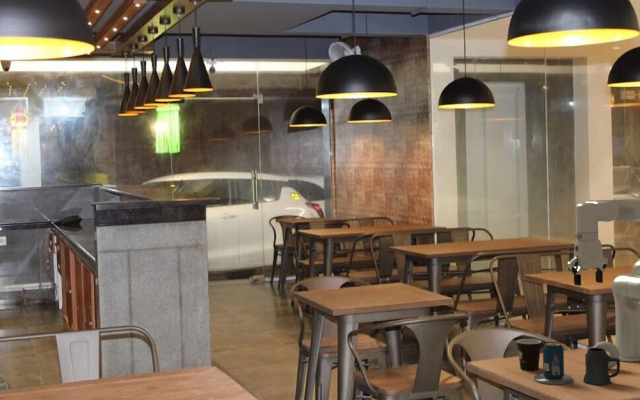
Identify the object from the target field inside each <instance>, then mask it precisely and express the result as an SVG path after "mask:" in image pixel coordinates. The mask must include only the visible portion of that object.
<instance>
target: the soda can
mask: <svg viewBox="0 0 640 400" xmlns="http://www.w3.org/2000/svg"><path fill="white" fill-rule="evenodd" d="M564 354H565V353H564V347H563V345H562V343H561V342H558V341H548V342H544V346H543V347H542V372H543V373H542V374H543V375H544V376H545V378H546V379H549V380H560V379H562V378H563V376H564V375H565V361H564V359H565V356H564Z"/></svg>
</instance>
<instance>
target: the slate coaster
mask: <svg viewBox="0 0 640 400" xmlns="http://www.w3.org/2000/svg"><path fill="white" fill-rule="evenodd" d="M533 380H534V382H535V383H539V384H542V385H550V386H557V385H558V386H561V385H568V384H571V383H572V382H574V378H573V377H572V376H570V375H568V374H564V376H563V378H562V379H560V380H549V379H546V378H545V376H544V375H543V373H540V374H539V373H538V374H536V375H534V376H533Z"/></svg>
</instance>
